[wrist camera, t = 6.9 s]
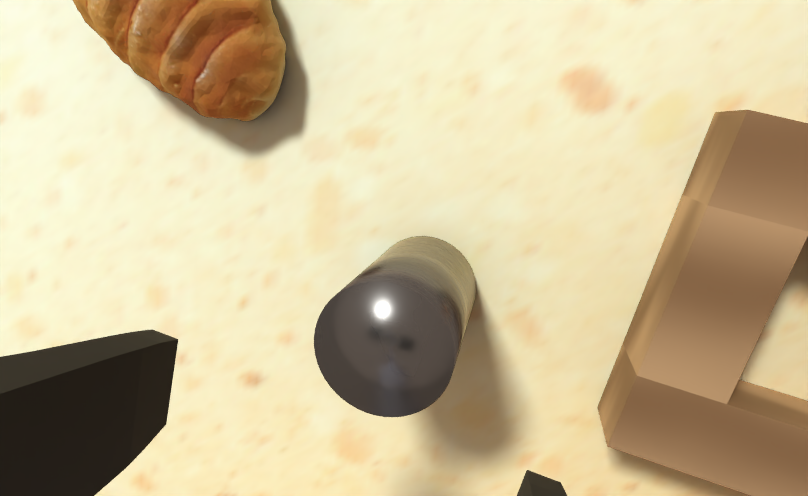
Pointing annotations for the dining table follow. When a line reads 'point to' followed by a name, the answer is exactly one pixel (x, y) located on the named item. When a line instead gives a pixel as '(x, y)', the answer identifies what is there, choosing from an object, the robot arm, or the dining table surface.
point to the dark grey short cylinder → (397, 328)
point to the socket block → (719, 317)
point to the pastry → (198, 49)
